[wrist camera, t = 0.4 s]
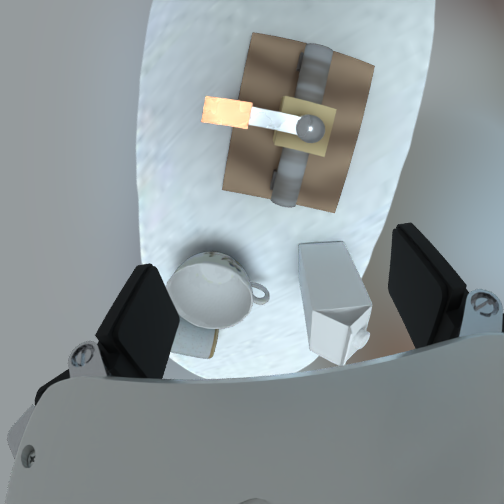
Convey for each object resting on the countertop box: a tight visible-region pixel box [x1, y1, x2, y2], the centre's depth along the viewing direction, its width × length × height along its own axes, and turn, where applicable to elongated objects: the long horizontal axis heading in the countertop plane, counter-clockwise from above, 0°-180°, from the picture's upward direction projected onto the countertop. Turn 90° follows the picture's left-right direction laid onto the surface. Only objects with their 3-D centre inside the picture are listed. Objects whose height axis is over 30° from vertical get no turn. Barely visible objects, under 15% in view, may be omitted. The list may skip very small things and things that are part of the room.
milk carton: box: [299, 242, 372, 366], centre depth 35 cm, size 7×7×19 cm
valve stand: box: [222, 33, 375, 213], centre depth 29 cm, size 22×16×8 cm
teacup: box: [166, 252, 269, 329], centre depth 41 cm, size 15×12×8 cm
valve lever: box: [201, 96, 325, 143], centre depth 24 cm, size 12×3×2 cm, turn 79°
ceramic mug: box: [170, 315, 219, 359], centre depth 48 cm, size 11×8×8 cm
